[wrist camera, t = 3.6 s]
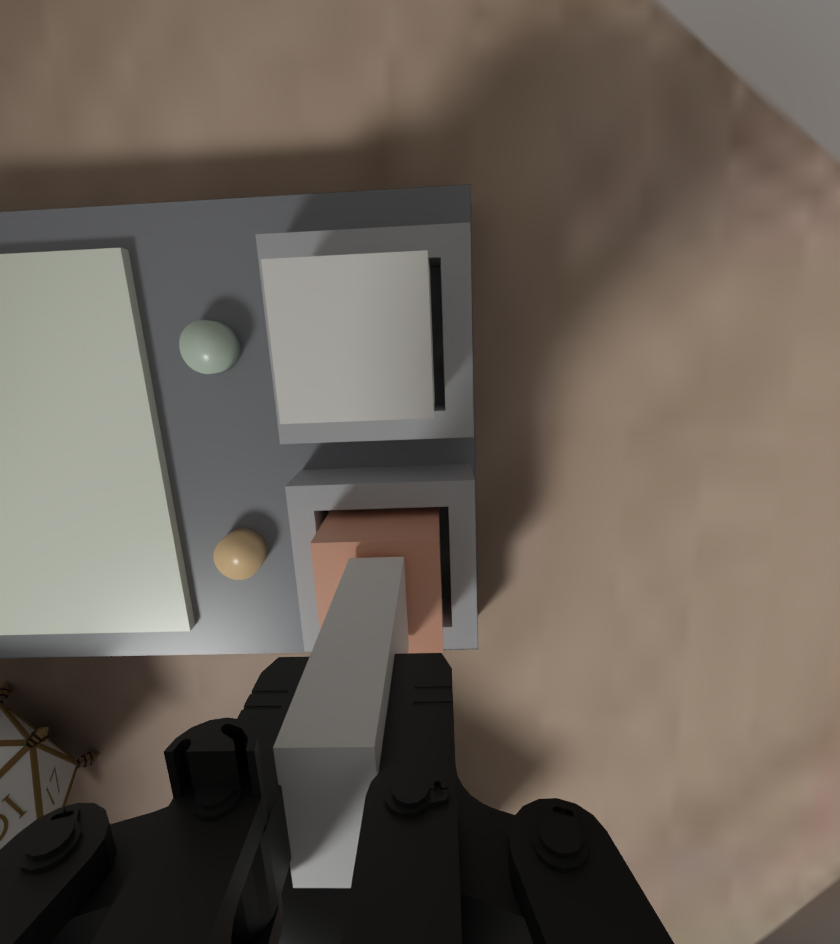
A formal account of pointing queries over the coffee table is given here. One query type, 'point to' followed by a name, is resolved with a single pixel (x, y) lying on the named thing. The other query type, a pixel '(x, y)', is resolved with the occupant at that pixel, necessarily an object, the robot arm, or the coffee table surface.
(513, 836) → the robot arm
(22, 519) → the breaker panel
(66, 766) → the game die
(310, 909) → the end cap
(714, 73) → the coffee table surface
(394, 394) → the off-white switch
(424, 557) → the terracotta switch
